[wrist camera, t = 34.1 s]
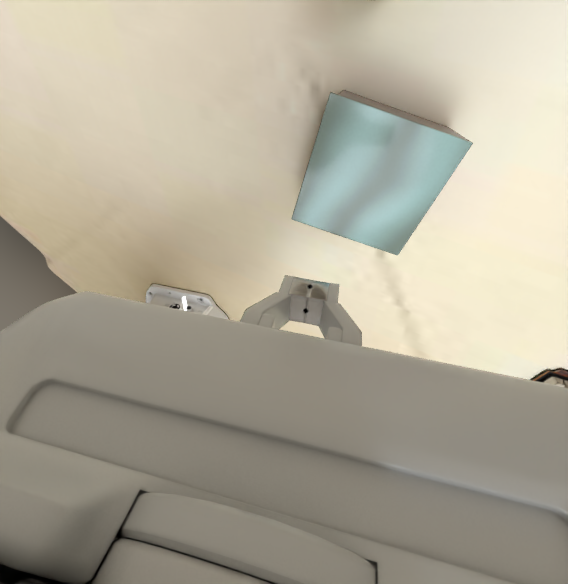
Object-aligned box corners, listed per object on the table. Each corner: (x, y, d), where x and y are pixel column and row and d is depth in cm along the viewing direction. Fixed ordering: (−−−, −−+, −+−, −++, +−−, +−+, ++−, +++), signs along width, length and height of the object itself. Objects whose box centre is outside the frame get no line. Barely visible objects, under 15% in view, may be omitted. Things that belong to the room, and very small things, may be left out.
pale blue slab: (292, 217, 36) (291, 219, 35) (330, 91, 27) (330, 92, 26) (397, 253, 36) (397, 255, 36) (471, 141, 27) (473, 142, 27)
